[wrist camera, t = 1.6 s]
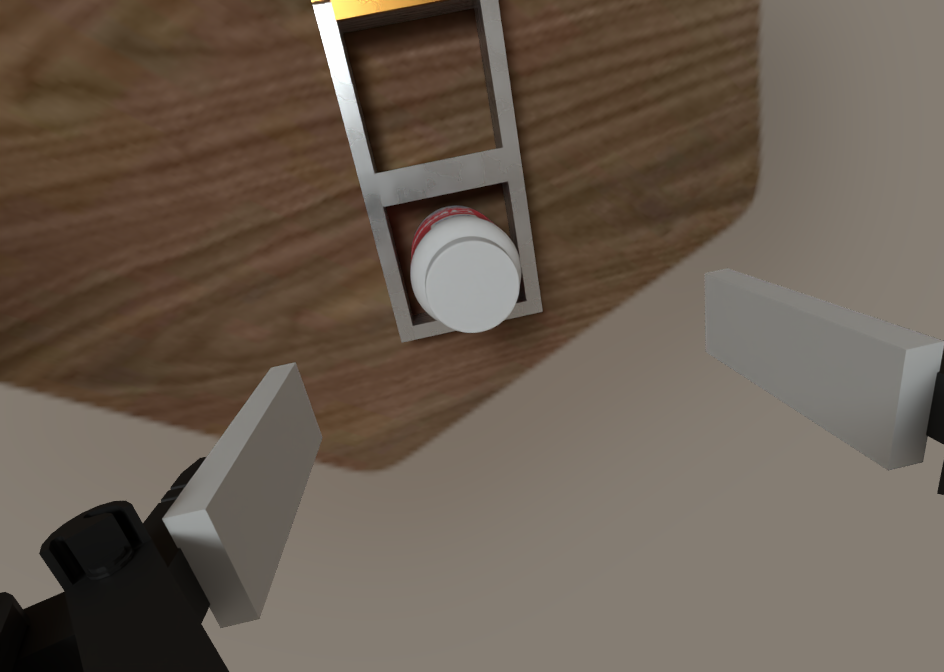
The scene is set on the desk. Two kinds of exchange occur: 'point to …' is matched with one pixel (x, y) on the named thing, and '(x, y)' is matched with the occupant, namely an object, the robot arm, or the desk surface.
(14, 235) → the desk surface
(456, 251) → the pill bottle
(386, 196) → the socket rail
